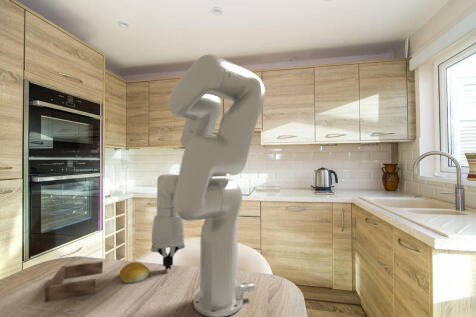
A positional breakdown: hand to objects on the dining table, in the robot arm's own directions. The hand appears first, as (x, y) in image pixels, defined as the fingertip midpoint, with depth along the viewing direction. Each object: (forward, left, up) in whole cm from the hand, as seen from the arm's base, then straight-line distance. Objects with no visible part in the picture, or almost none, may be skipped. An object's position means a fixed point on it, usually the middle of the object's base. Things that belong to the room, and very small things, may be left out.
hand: (167, 267), depth 78 cm
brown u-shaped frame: (+25, 0, -1) cm, 25 cm away
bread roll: (+10, 0, -2) cm, 10 cm away
